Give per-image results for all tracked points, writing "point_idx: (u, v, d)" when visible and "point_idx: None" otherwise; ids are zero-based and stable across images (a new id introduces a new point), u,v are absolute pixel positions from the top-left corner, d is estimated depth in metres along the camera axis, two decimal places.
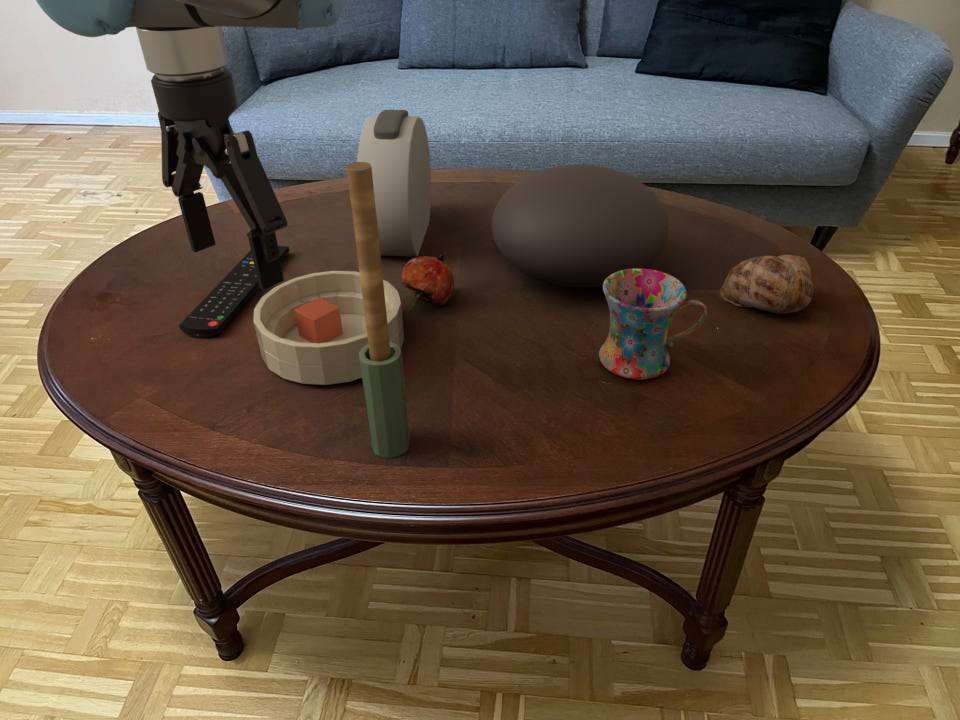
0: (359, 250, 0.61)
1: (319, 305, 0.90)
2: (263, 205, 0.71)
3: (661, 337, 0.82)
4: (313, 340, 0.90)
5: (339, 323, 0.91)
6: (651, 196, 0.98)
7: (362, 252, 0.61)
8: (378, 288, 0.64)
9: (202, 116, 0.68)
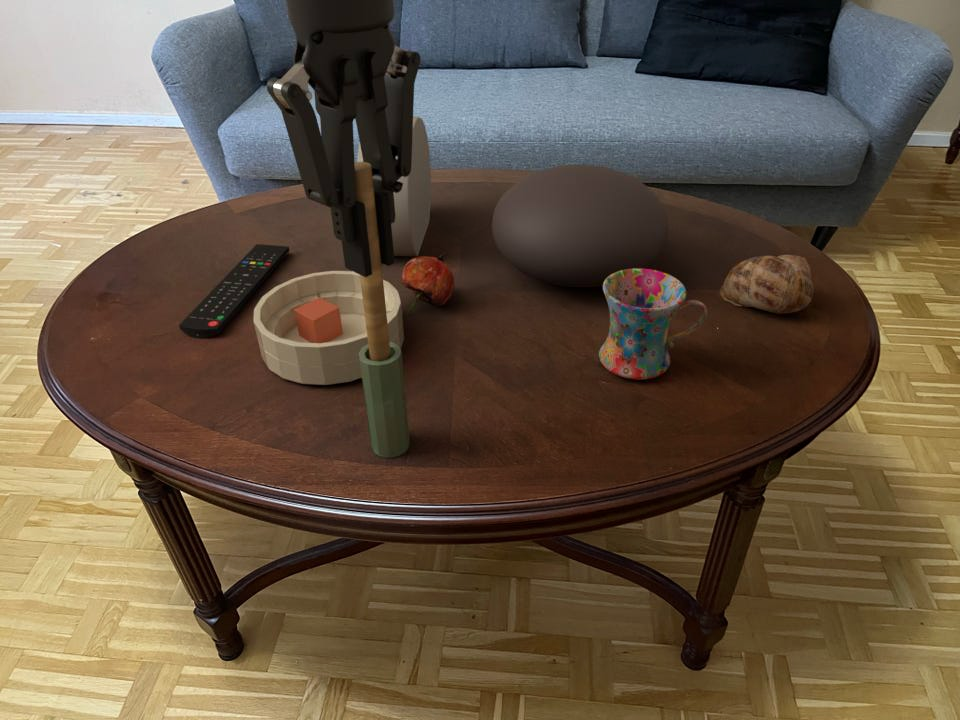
0: None
1: (319, 305, 0.90)
2: None
3: (661, 337, 0.82)
4: (313, 340, 0.90)
5: (339, 323, 0.91)
6: (651, 196, 0.98)
7: None
8: (378, 288, 0.64)
9: None
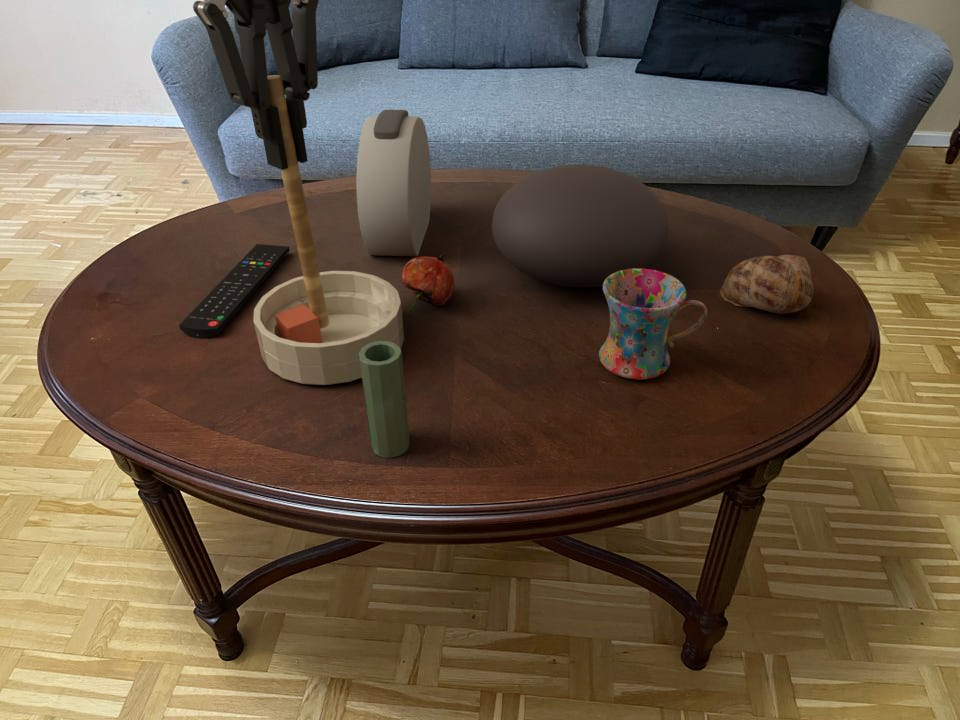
0: None
1: (300, 313, 0.88)
2: None
3: (661, 337, 0.82)
4: None
5: (318, 333, 0.89)
6: (651, 196, 0.98)
7: None
8: (297, 181, 0.80)
9: None
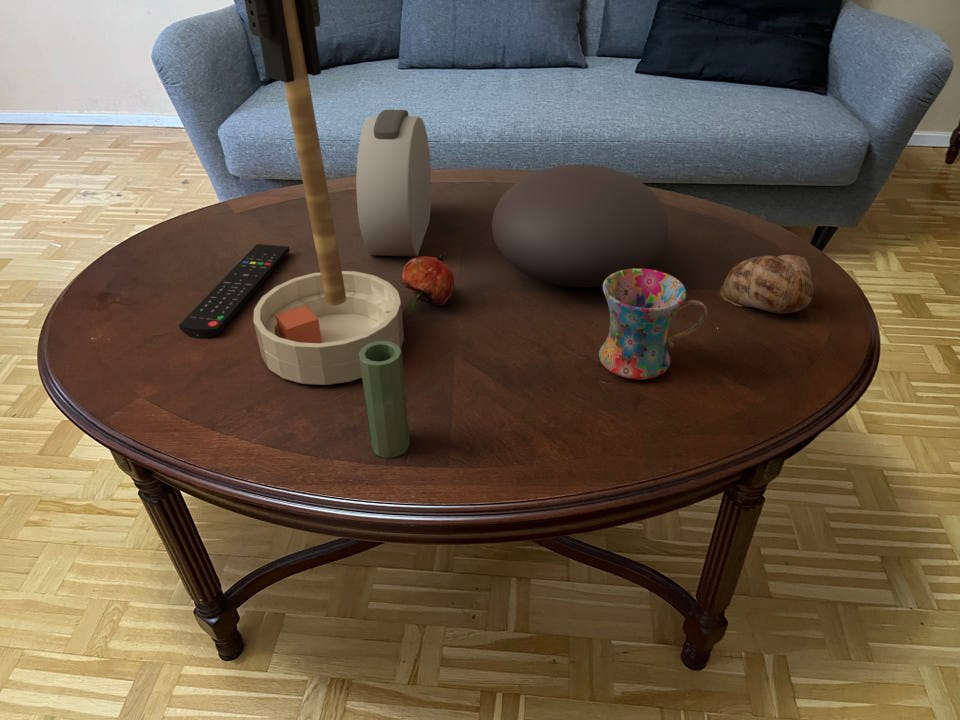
0: None
1: (301, 314, 0.88)
2: None
3: (661, 337, 0.82)
4: None
5: (318, 334, 0.89)
6: (651, 196, 0.98)
7: None
8: (307, 100, 0.59)
9: None
